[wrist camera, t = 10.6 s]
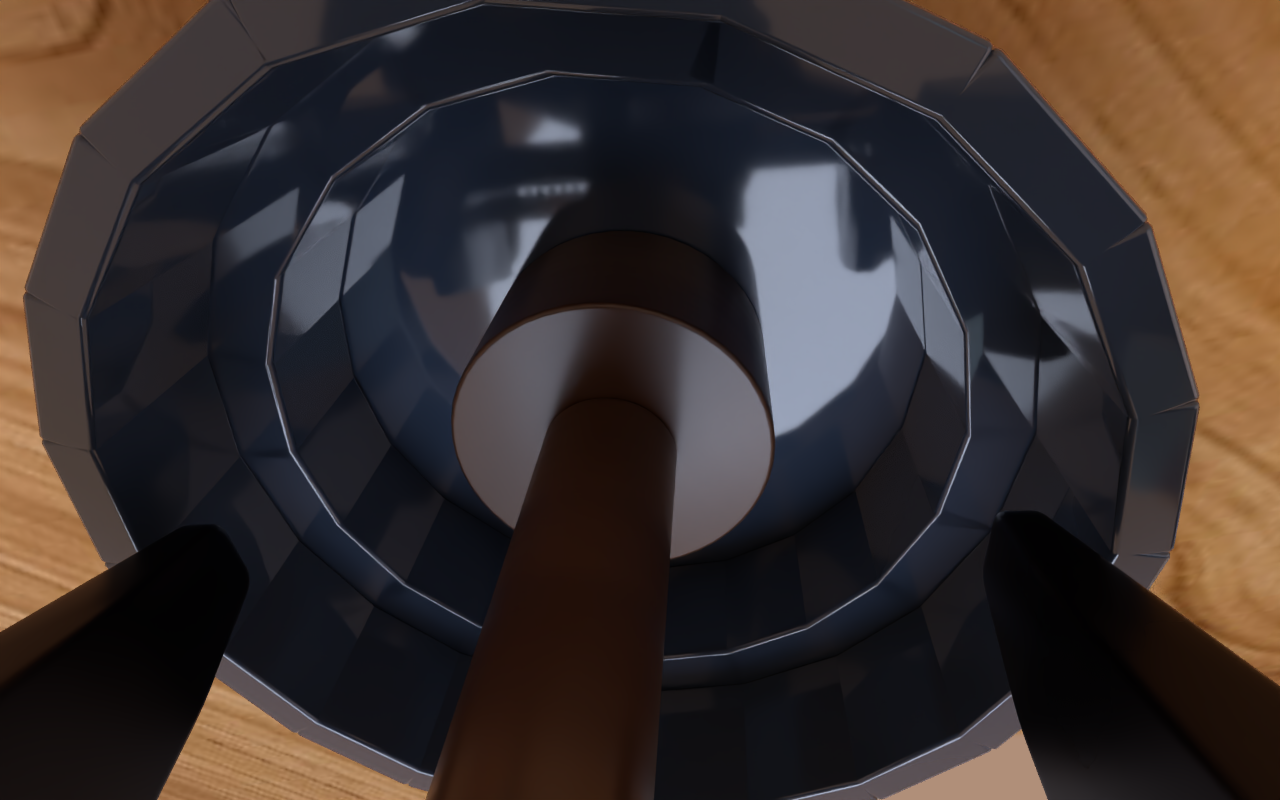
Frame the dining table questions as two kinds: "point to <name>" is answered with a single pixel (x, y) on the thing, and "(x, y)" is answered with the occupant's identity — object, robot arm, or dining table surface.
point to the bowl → (534, 224)
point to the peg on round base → (598, 504)
